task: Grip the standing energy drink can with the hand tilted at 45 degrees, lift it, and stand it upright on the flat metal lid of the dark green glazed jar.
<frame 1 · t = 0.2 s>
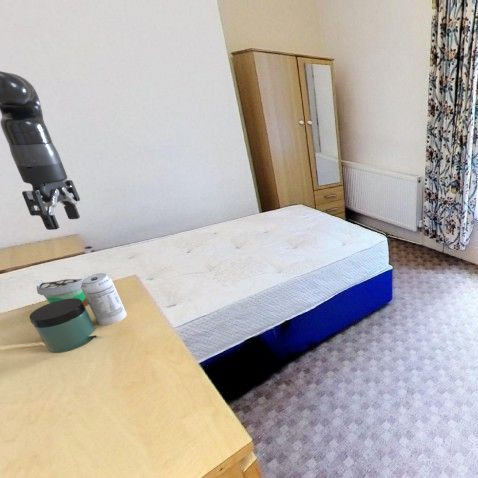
hand: (64, 223, 85), 28 cm above the table, tool pointing down, fingers open, 8 cm apart
food container: (73, 312, 95), on the table
energy drink can: (115, 323, 91), on the table
jar: (73, 340, 85), on the table
jar lid: (57, 310, 81), point 10 cm above the table, screwed on, not yet turned
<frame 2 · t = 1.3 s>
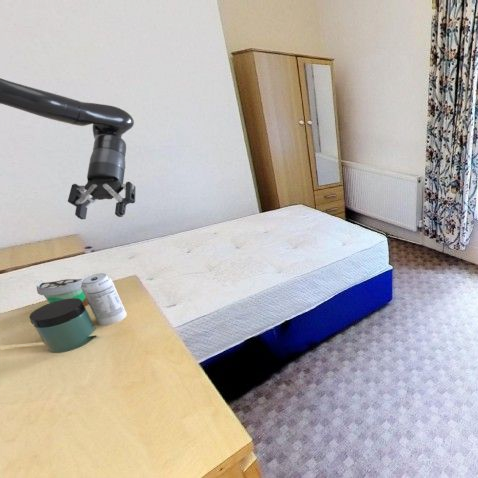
hand: (100, 217, 90), 28 cm above the table, tool tilted 45°, fingers open, 8 cm apart
nothing on the table moved.
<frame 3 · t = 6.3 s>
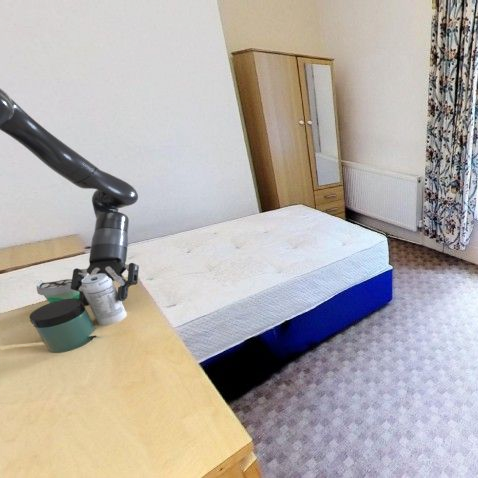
hand: (103, 302, 87), 8 cm above the table, tool tilted 45°, fingers open, 7 cm apart
jar lid: (57, 310, 81), point 10 cm above the table, turned -3° so far, risen 0.0 cm, still on its thread, touching gripper
everything else where it was.
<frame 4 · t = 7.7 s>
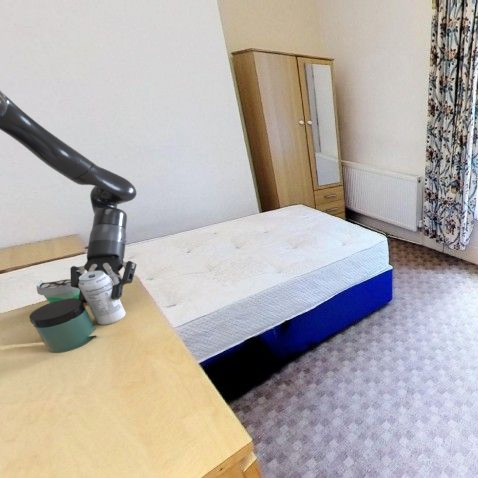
hand: (100, 300, 86), 9 cm above the table, tool tilted 45°, fingers closed on energy drink can, 6 cm apart
energy drink can: (113, 320, 91), point 1 cm above the table, touching gripper
everything else where it was.
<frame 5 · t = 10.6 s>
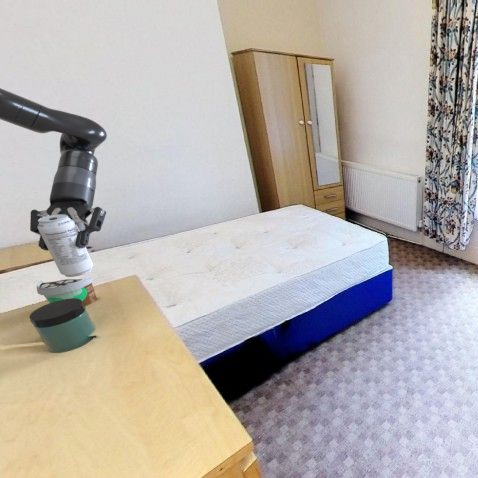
hand: (63, 248, 78), 25 cm above the table, tool tilted 45°, fingers closed on energy drink can, 6 cm apart
energy drink can: (79, 272, 82), point 18 cm above the table, touching gripper
jar lid: (57, 310, 81), point 10 cm above the table, turned -3° so far, risen 0.0 cm, still on its thread
everything else where it was.
when the fingers open (18 cm above the table, at t = 14.4 s): energy drink can stays where it is, resting on jar lid.
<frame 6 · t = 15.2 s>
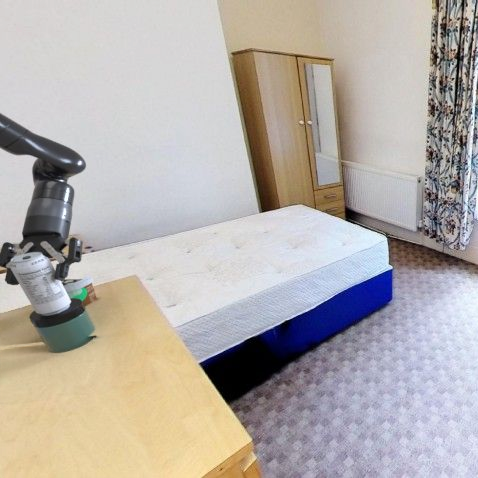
hand: (36, 282, 76), 19 cm above the table, tool tilted 45°, fingers open, 8 cm apart
energy drink can: (56, 310, 80), point 10 cm above the table, touching jar lid
jar lid: (57, 310, 81), point 10 cm above the table, screwed on, not yet turned, touching energy drink can
everything else where it was.
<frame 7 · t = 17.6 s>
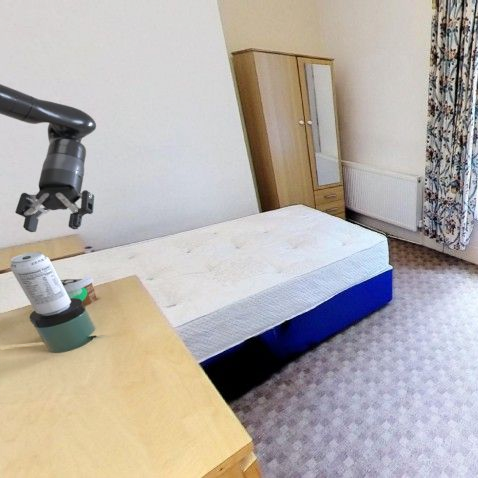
hand: (52, 229, 81), 28 cm above the table, tool tilted 45°, fingers open, 8 cm apart
nothing on the table moved.
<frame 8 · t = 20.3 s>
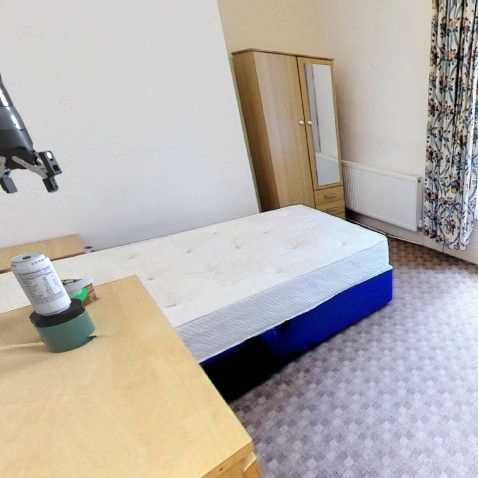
hand: (33, 192, 83), 36 cm above the table, tool pointing down, fingers open, 8 cm apart
nothing on the table moved.
at the end: energy drink can 0.3 cm off-centre on the jar, point 10.0 cm above the jar's base; energy drink can tilted 0°; the gripper is holding nothing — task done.
